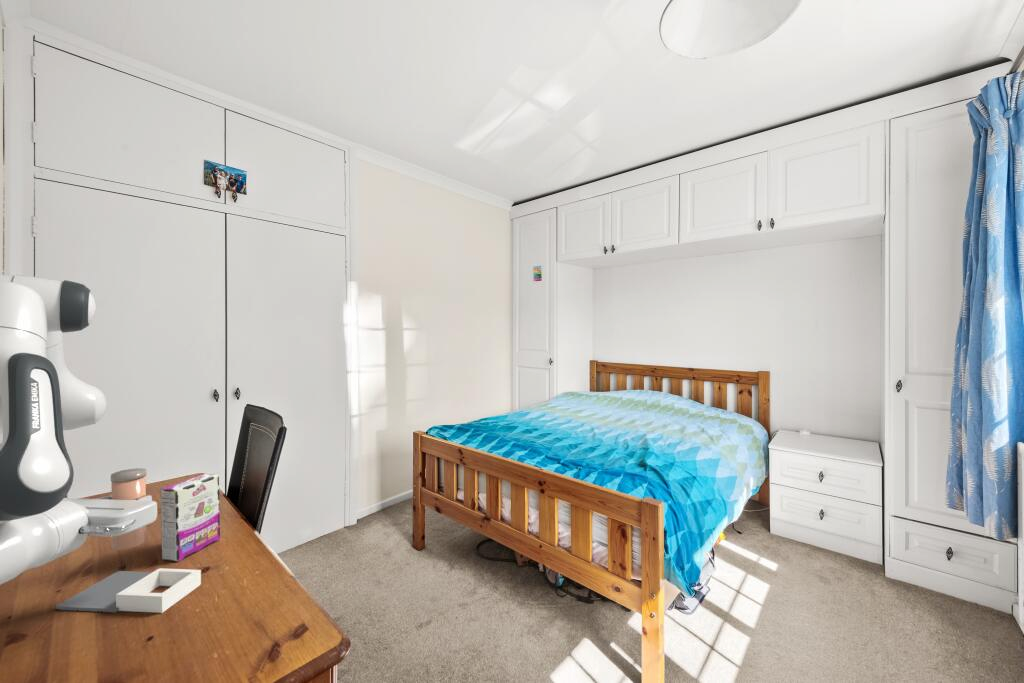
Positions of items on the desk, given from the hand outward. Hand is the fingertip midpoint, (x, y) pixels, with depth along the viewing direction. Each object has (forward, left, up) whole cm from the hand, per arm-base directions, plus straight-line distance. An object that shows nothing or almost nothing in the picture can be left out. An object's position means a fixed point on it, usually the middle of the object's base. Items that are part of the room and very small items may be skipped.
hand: (133, 498), depth 84 cm
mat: (-3, 0, -19) cm, 19 cm away
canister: (0, -1, -9) cm, 9 cm away
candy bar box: (-2, +17, -19) cm, 25 cm away
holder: (+7, -1, -19) cm, 20 cm away
